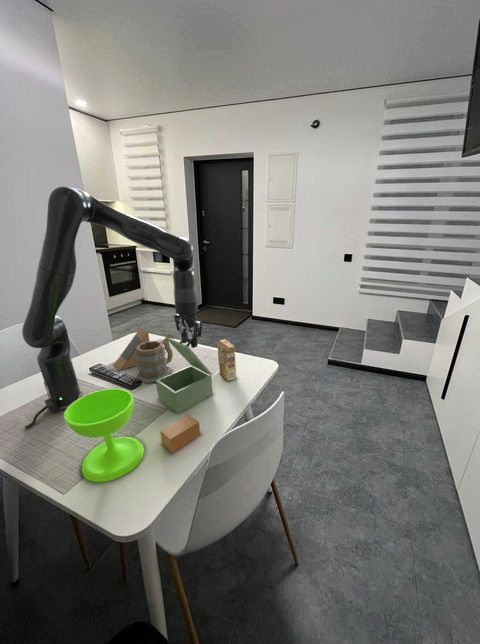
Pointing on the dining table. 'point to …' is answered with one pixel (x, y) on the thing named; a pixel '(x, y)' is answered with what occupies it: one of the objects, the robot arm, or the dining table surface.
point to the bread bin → (184, 388)
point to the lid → (188, 353)
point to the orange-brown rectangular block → (180, 433)
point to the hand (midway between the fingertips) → (189, 344)
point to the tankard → (153, 359)
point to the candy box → (226, 359)
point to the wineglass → (105, 433)
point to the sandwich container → (132, 350)
